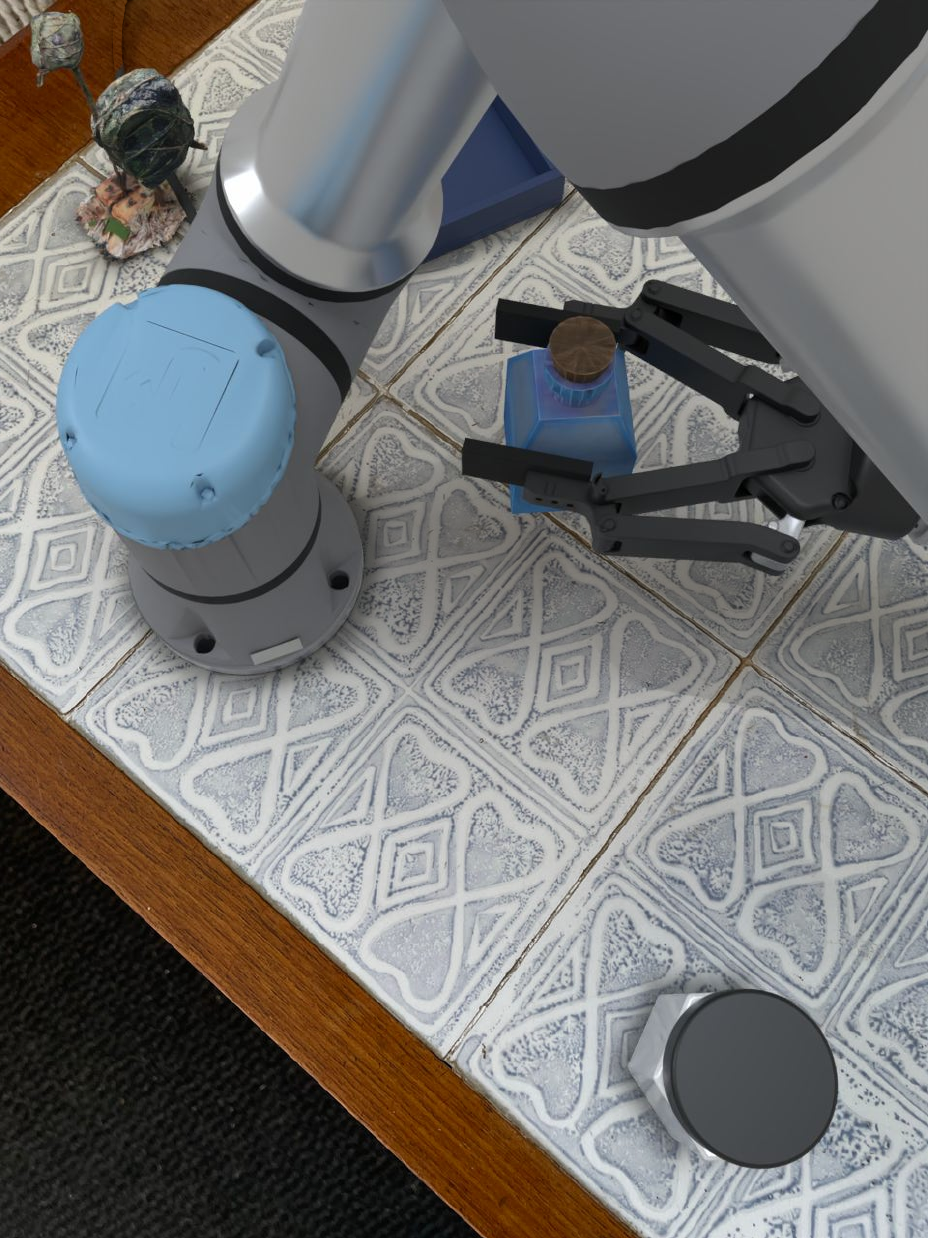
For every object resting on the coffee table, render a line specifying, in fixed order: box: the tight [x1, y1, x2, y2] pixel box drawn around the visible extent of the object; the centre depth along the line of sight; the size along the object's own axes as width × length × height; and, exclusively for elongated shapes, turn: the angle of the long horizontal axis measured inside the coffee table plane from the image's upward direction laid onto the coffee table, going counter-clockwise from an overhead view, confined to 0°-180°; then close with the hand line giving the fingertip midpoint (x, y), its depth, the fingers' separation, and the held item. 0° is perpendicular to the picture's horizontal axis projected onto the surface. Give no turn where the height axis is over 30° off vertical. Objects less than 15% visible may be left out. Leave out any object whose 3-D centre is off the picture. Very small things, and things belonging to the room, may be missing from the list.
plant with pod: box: [29, 11, 209, 263], centre depth 75 cm, size 8×11×20 cm
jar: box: [627, 988, 839, 1170], centre depth 60 cm, size 9×8×12 cm
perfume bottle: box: [502, 316, 638, 515], centre depth 58 cm, size 6×6×12 cm
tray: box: [420, 94, 566, 265], centre depth 84 cm, size 14×14×3 cm
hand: (480, 386), depth 58 cm, fingers closed on perfume bottle, 8 cm apart
